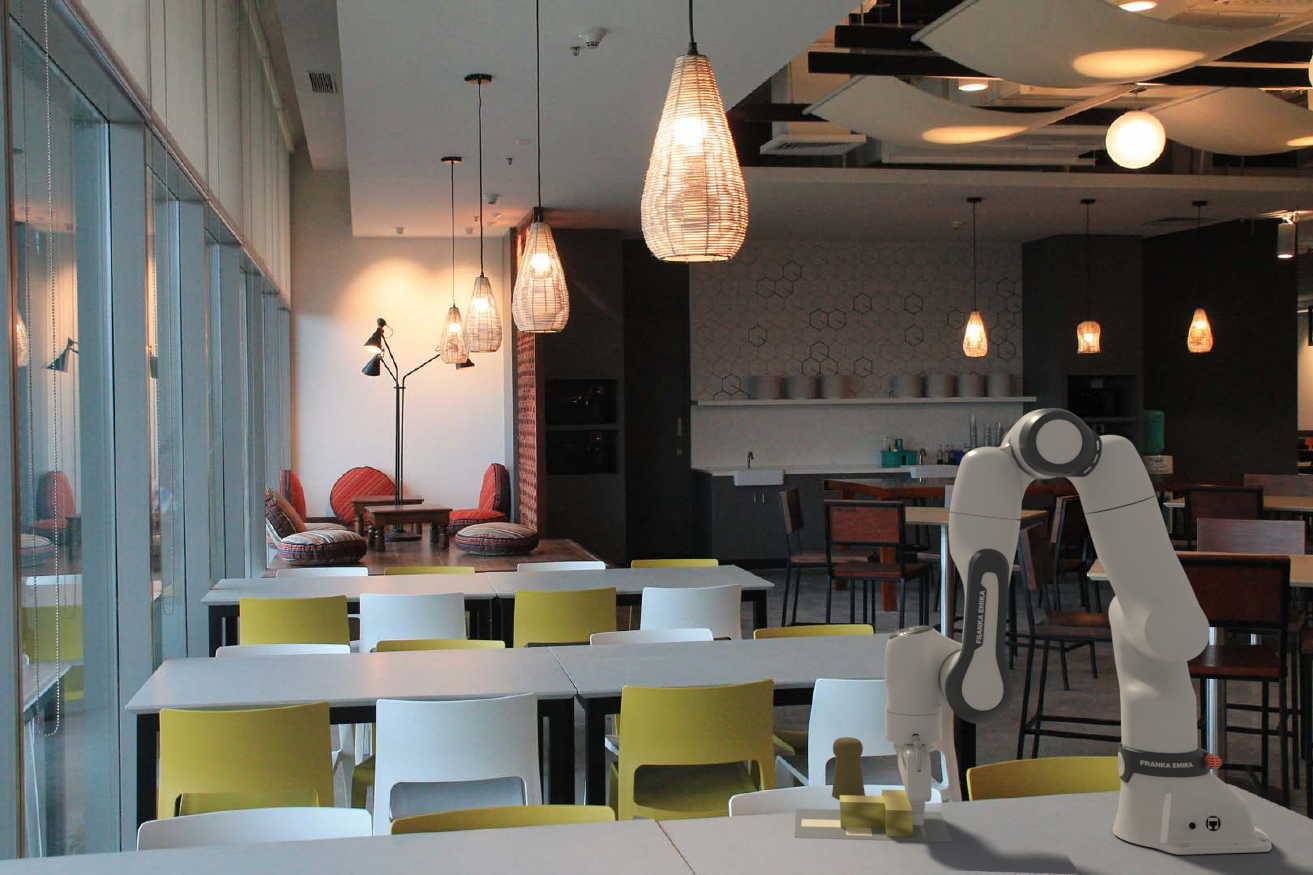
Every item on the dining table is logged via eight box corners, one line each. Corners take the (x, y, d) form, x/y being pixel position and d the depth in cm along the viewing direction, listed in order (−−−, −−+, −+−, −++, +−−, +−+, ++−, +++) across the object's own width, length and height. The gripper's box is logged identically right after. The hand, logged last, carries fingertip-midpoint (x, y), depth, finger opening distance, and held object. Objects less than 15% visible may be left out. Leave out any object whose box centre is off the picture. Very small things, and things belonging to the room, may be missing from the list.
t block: (906, 814, 198) (906, 790, 198) (912, 836, 186) (912, 810, 187) (839, 812, 200) (839, 788, 200) (841, 834, 188) (840, 808, 188)
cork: (864, 796, 213) (863, 734, 213) (867, 806, 207) (866, 742, 207) (830, 796, 214) (829, 734, 214) (831, 805, 208) (831, 741, 208)
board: (941, 818, 199) (941, 812, 199) (952, 848, 184) (952, 841, 184) (796, 814, 203) (796, 808, 203) (794, 843, 187) (794, 837, 187)
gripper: (940, 743, 182) (942, 835, 181) (927, 715, 202) (929, 798, 202) (897, 742, 183) (899, 834, 182) (889, 715, 203) (890, 797, 203)
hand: (915, 814), depth 192 cm, fingers open, 8 cm apart
